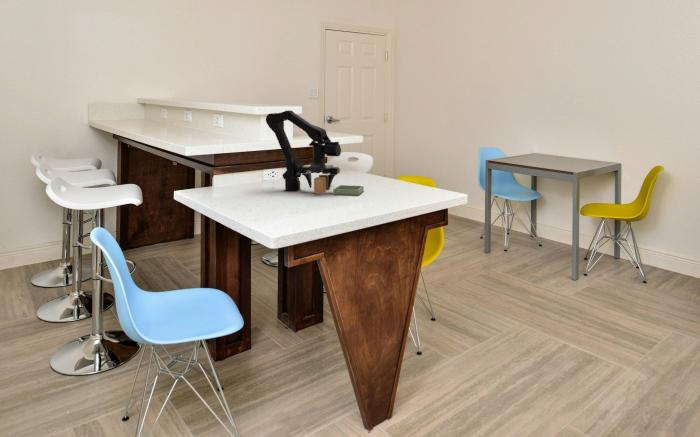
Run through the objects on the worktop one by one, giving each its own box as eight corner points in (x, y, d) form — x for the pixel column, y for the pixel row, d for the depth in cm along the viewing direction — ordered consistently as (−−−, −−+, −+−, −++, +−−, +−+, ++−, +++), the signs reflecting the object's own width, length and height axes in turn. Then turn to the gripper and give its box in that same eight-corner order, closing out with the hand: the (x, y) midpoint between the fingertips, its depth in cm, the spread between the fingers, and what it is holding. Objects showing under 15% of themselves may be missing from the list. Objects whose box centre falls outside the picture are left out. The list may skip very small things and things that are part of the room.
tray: (333, 194, 249) (333, 189, 249) (339, 190, 261) (339, 185, 260) (358, 195, 247) (358, 190, 246) (363, 191, 258) (363, 186, 257)
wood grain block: (319, 189, 263) (318, 175, 261) (319, 189, 264) (319, 174, 263) (328, 190, 262) (328, 175, 260) (329, 189, 263) (329, 175, 262)
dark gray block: (322, 173, 263) (321, 167, 262) (327, 170, 273) (327, 165, 272) (327, 173, 262) (327, 167, 262) (333, 171, 272) (332, 165, 271)
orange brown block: (314, 193, 254) (313, 178, 252) (317, 191, 259) (316, 177, 257) (322, 193, 253) (322, 179, 251) (325, 191, 258) (325, 177, 256)
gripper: (295, 157, 246) (295, 190, 250) (333, 158, 242) (334, 191, 246) (302, 154, 257) (303, 186, 260) (339, 155, 253) (340, 187, 256)
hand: (319, 188), depth 255 cm, fingers open, 9 cm apart
